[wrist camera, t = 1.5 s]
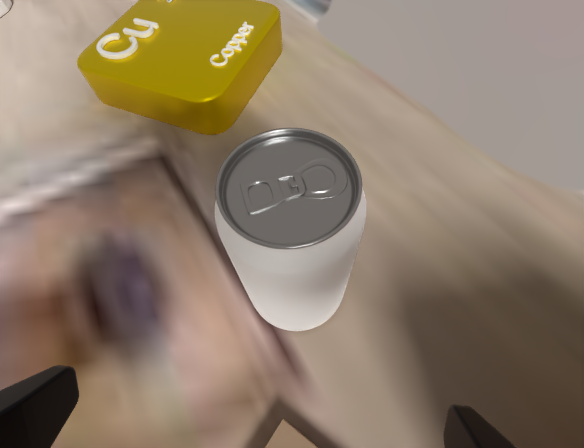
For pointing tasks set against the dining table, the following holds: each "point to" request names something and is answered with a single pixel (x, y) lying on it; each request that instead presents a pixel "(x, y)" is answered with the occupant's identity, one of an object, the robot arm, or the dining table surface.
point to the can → (291, 223)
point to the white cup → (4, 6)
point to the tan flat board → (289, 438)
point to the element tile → (185, 60)
